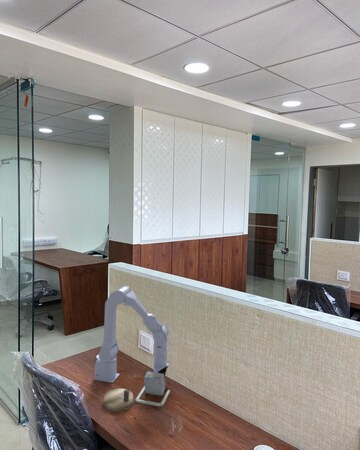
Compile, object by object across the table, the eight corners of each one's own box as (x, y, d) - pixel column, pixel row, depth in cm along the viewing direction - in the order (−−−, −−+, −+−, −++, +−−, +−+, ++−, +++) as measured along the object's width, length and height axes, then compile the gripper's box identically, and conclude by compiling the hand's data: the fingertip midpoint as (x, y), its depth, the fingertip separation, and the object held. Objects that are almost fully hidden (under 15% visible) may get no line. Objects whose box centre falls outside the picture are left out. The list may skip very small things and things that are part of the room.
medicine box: (165, 388, 158) (164, 373, 155) (162, 396, 154) (161, 381, 151) (148, 386, 160) (147, 370, 157) (145, 393, 156) (143, 378, 153)
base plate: (98, 407, 144) (98, 407, 144) (111, 391, 156) (111, 391, 156) (126, 413, 141) (126, 412, 141) (137, 396, 153) (137, 396, 153)
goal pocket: (134, 402, 149) (134, 400, 149) (144, 387, 161) (144, 385, 161) (162, 407, 147) (162, 405, 146) (170, 391, 158) (170, 389, 158)
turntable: (97, 401, 148) (97, 387, 147) (119, 389, 157) (119, 376, 157) (117, 413, 141) (118, 398, 140) (139, 400, 150) (139, 386, 150)
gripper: (164, 362, 154) (163, 392, 155) (173, 348, 168) (172, 376, 169) (149, 359, 155) (148, 389, 157) (158, 346, 169) (158, 373, 171)
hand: (159, 382), depth 163 cm, fingers open, 7 cm apart
